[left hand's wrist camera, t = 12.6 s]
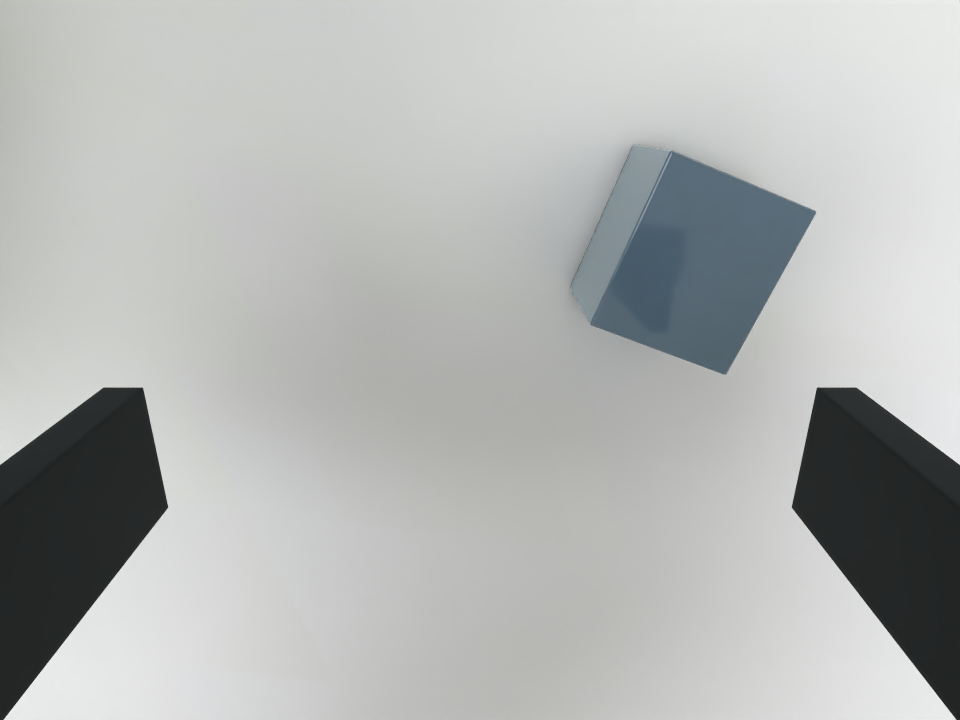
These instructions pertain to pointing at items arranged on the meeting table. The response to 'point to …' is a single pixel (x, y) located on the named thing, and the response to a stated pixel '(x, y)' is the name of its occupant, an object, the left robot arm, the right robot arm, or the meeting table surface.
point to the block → (686, 257)
